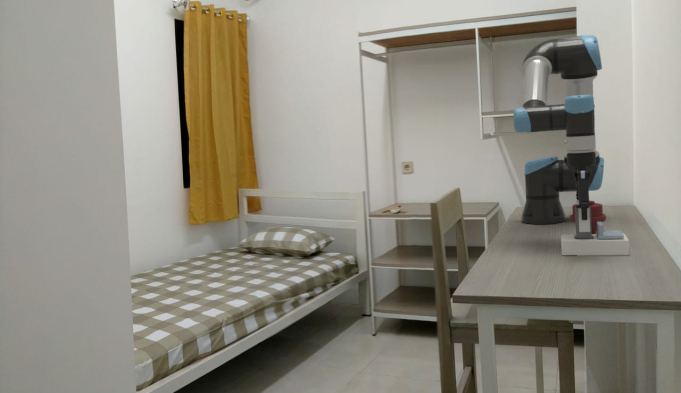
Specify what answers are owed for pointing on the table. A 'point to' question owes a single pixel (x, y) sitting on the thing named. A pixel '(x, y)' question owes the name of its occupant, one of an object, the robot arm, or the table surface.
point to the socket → (594, 245)
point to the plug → (578, 234)
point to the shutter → (607, 233)
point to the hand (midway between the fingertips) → (583, 227)
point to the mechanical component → (592, 215)
